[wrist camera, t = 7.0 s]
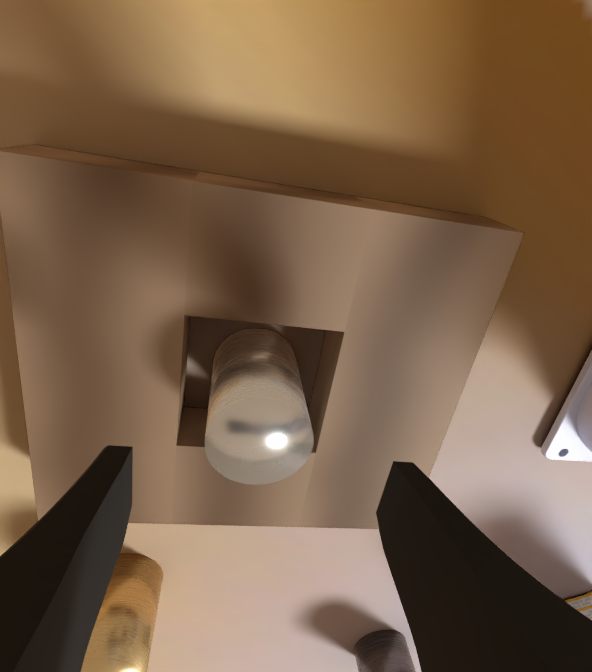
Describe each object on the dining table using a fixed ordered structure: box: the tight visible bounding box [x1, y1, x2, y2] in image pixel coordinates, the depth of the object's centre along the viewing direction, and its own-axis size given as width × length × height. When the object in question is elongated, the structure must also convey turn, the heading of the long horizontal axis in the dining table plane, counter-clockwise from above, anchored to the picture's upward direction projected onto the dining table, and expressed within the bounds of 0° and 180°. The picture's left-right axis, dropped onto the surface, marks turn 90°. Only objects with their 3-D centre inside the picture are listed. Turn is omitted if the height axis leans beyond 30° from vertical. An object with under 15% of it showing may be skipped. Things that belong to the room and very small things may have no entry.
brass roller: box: [81, 554, 163, 672], centre depth 21 cm, size 4×4×5 cm
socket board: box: [0, 144, 524, 529], centre depth 17 cm, size 16×14×2 cm
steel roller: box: [205, 328, 314, 485], centre depth 16 cm, size 4×4×5 cm
